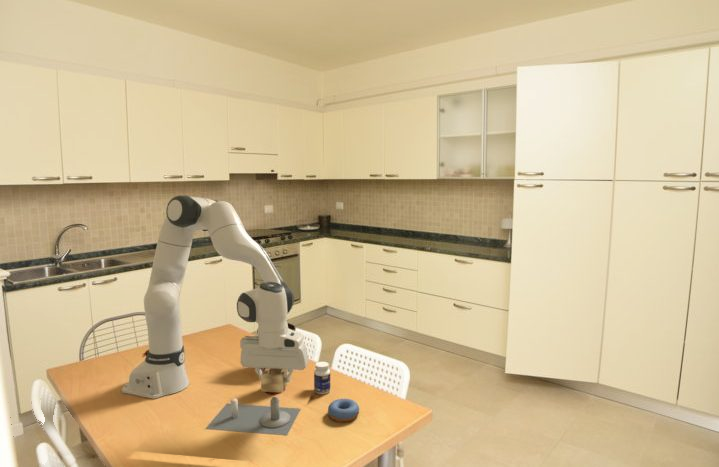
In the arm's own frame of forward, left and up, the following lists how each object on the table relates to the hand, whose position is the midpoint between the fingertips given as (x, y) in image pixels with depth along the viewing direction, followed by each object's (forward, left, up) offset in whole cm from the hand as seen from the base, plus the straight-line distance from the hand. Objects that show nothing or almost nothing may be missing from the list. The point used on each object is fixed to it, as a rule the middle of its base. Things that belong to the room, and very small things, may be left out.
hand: (274, 381), depth 136 cm
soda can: (-7, +19, -14) cm, 24 cm away
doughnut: (+20, +8, -14) cm, 26 cm away
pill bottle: (+9, +23, -14) cm, 28 cm away
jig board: (-7, 0, -14) cm, 15 cm away
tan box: (0, 0, -2) cm, 2 cm away
